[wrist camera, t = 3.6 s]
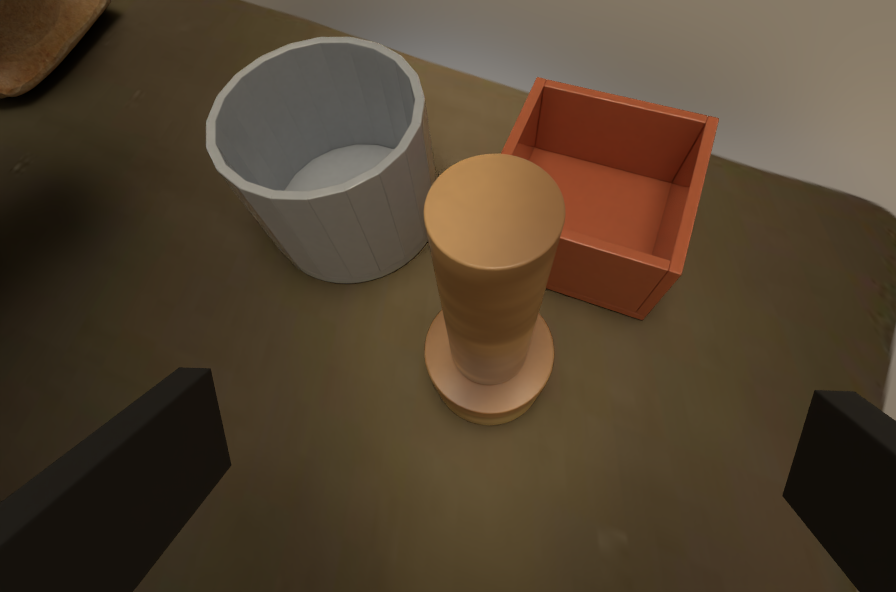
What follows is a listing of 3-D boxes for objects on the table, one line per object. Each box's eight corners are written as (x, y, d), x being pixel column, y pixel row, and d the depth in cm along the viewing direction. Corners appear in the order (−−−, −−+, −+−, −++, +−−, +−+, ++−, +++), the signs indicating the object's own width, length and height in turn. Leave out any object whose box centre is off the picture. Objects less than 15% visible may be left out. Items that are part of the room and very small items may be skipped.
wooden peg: (414, 400, 25) (329, 269, 11) (457, 303, 27) (431, 96, 13) (522, 446, 23) (579, 360, 10) (559, 340, 25) (646, 149, 12)
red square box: (474, 265, 28) (473, 211, 23) (528, 145, 32) (537, 76, 27) (642, 321, 26) (681, 274, 20) (678, 184, 29) (719, 117, 24)
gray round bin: (244, 252, 29) (160, 161, 22) (326, 132, 33) (280, 20, 26) (395, 308, 27) (359, 228, 19) (463, 171, 31) (457, 60, 23)
